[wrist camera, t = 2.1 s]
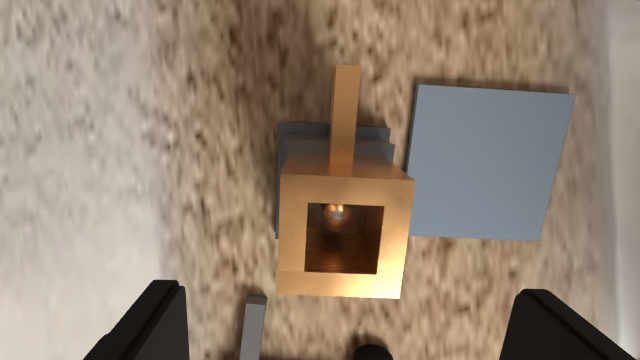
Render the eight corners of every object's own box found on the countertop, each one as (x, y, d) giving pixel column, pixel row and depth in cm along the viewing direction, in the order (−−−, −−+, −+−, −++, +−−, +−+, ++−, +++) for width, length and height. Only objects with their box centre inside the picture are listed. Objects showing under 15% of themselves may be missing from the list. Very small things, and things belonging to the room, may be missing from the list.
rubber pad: (569, 94, 24) (575, 94, 23) (533, 237, 27) (538, 241, 26) (416, 84, 23) (419, 84, 23) (397, 232, 26) (399, 235, 26)
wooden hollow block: (397, 72, 18) (432, 60, 13) (376, 248, 21) (399, 298, 16) (291, 65, 18) (284, 50, 13) (285, 244, 21) (277, 294, 15)
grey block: (392, 83, 23) (431, 75, 16) (375, 238, 26) (400, 292, 19) (280, 76, 23) (266, 64, 15) (276, 234, 26) (263, 287, 19)
